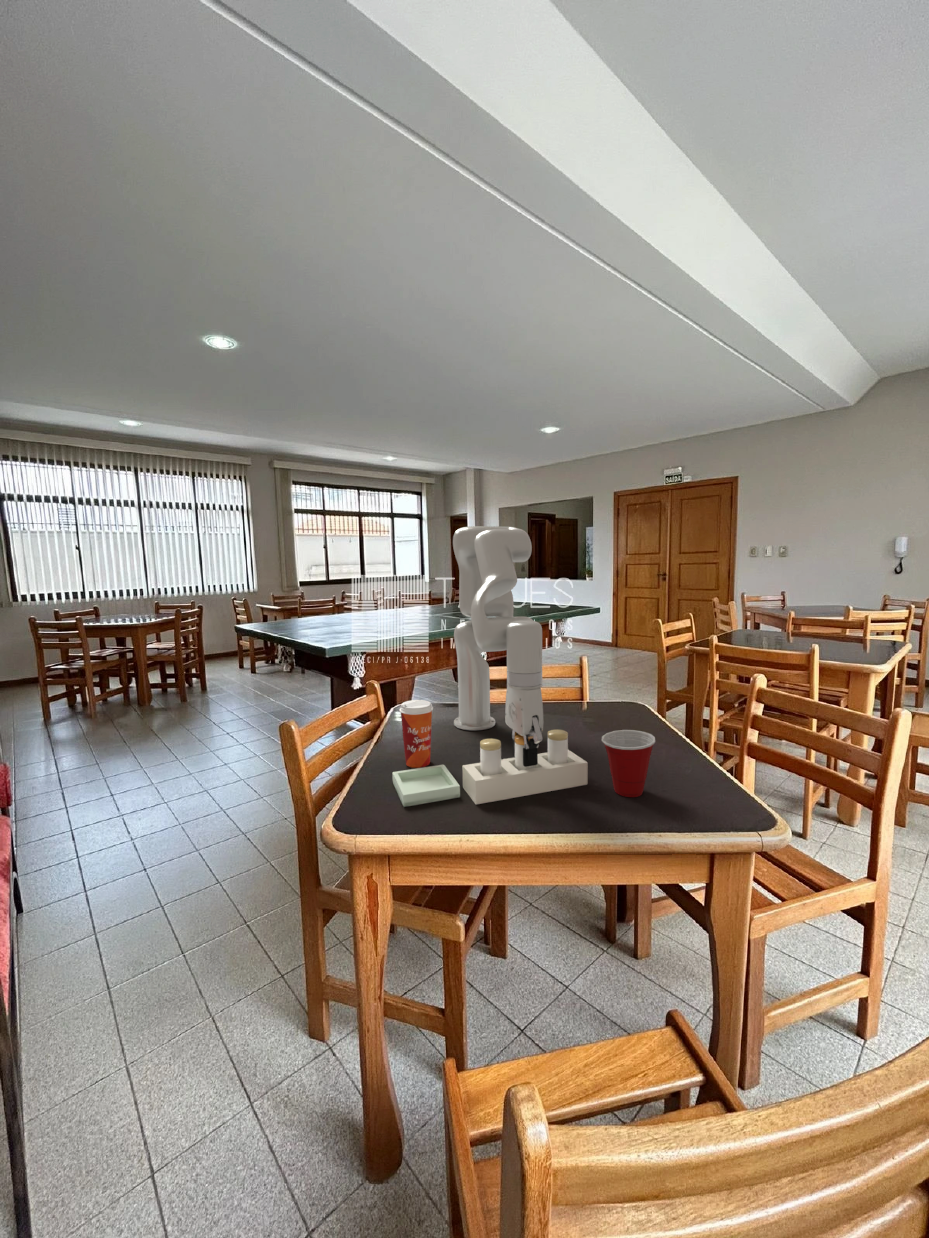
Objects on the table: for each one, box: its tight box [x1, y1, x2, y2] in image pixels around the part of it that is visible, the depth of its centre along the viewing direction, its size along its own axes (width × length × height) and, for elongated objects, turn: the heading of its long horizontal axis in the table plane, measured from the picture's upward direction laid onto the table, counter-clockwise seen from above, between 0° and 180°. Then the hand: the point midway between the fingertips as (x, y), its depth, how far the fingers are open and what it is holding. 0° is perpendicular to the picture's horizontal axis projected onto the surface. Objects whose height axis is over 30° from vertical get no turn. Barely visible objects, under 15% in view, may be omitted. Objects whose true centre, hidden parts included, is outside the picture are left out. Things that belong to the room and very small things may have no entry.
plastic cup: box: [601, 729, 656, 798], centre depth 106 cm, size 11×11×12 cm
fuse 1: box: [479, 738, 502, 777], centre depth 107 cm, size 4×4×11 cm
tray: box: [391, 764, 461, 808], centre depth 109 cm, size 12×12×2 cm
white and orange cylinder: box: [514, 735, 535, 771], centre depth 109 cm, size 4×4×11 cm
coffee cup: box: [399, 699, 434, 769], centre depth 123 cm, size 8×8×15 cm
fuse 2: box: [547, 729, 569, 765], centre depth 112 cm, size 4×4×11 cm
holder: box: [462, 749, 589, 805], centre depth 110 cm, size 8×26×5 cm, turn 109°
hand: (525, 760), depth 109 cm, fingers closed on white and orange cylinder, 4 cm apart
